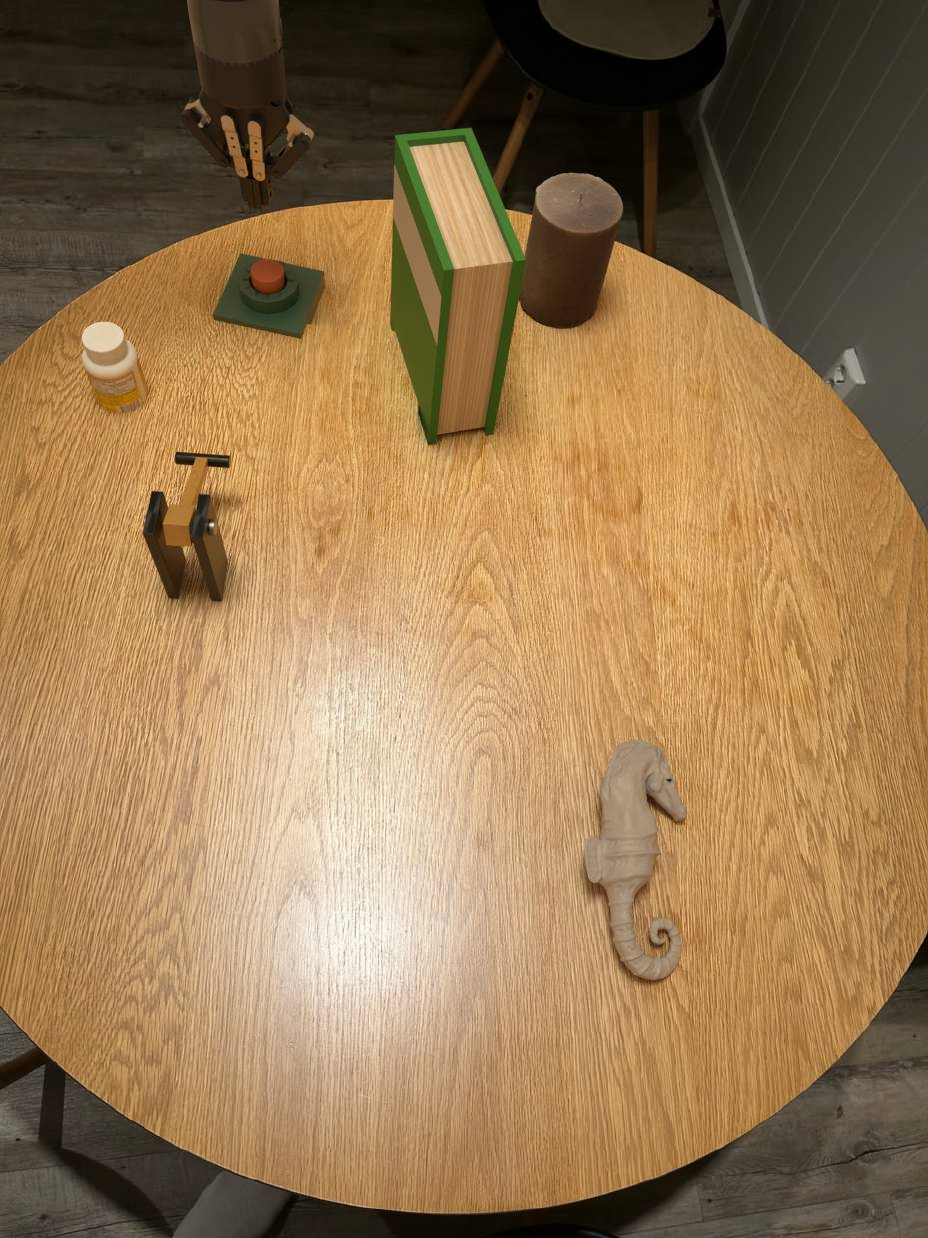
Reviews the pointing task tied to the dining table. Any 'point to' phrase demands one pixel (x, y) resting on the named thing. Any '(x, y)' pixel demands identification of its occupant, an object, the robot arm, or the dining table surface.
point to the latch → (189, 496)
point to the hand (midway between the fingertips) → (258, 203)
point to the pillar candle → (569, 248)
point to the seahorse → (633, 848)
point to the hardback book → (452, 279)
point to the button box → (271, 299)
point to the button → (267, 276)
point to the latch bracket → (173, 557)
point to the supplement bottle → (113, 368)
